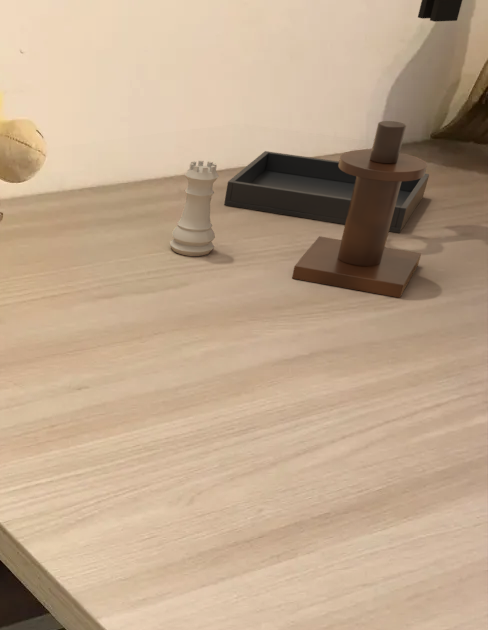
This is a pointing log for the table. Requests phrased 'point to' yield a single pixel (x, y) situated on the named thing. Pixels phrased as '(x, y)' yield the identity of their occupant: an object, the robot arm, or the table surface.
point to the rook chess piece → (196, 212)
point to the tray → (309, 189)
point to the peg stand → (368, 222)
